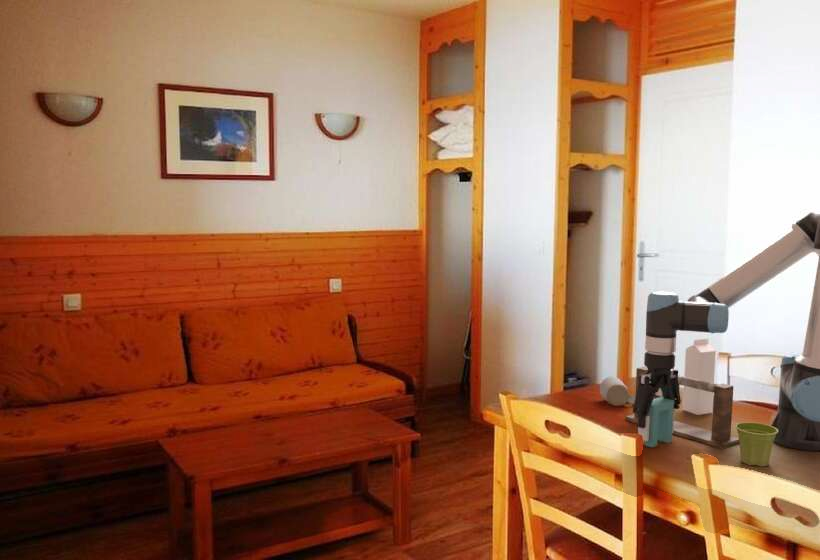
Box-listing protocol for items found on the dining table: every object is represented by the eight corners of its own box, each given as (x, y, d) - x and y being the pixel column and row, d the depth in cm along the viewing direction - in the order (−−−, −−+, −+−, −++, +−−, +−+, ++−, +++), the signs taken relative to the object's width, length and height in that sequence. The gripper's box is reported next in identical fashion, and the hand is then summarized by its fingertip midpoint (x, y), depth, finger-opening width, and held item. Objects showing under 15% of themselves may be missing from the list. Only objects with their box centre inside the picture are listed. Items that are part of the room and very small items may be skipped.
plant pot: (757, 471, 176) (759, 436, 175) (724, 458, 184) (726, 424, 183) (784, 466, 180) (787, 431, 179) (751, 453, 188) (754, 420, 187)
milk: (682, 410, 226) (685, 338, 224) (696, 407, 229) (700, 336, 227) (698, 415, 221) (701, 341, 219) (712, 412, 224) (716, 340, 221)
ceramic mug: (606, 407, 229) (607, 382, 228) (598, 399, 237) (600, 375, 236) (640, 407, 229) (642, 383, 228) (632, 400, 237) (633, 376, 236)
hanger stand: (739, 442, 197) (743, 386, 195) (722, 448, 192) (726, 390, 190) (642, 415, 221) (645, 364, 219) (625, 419, 216) (627, 368, 214)
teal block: (658, 437, 200) (660, 397, 199) (671, 441, 197) (673, 400, 196) (638, 443, 195) (640, 402, 194) (652, 447, 192) (654, 405, 191)
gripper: (673, 344, 203) (668, 424, 206) (620, 354, 190) (616, 439, 192) (698, 349, 197) (693, 431, 200) (645, 360, 184) (641, 448, 186)
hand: (655, 435), depth 196 cm, fingers open, 10 cm apart
